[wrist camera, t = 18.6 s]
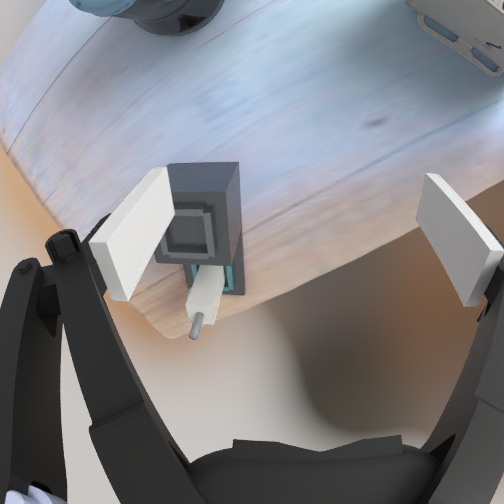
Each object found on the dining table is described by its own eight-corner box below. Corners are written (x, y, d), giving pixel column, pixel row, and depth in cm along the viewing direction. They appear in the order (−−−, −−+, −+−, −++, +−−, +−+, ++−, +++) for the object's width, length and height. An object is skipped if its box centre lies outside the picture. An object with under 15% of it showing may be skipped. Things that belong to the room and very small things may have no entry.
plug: (200, 278, 63) (178, 343, 50) (197, 261, 61) (172, 326, 47) (225, 280, 63) (208, 346, 49) (223, 262, 60) (204, 329, 47)
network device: (393, 15, 32) (455, -4, 16) (406, -26, 27) (468, -59, 11) (509, 92, 34) (585, 124, 18) (521, 55, 29) (597, 75, 13)
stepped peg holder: (187, 288, 67) (170, 334, 56) (166, 163, 51) (134, 196, 40) (245, 292, 66) (236, 340, 55) (238, 162, 50) (224, 195, 39)
